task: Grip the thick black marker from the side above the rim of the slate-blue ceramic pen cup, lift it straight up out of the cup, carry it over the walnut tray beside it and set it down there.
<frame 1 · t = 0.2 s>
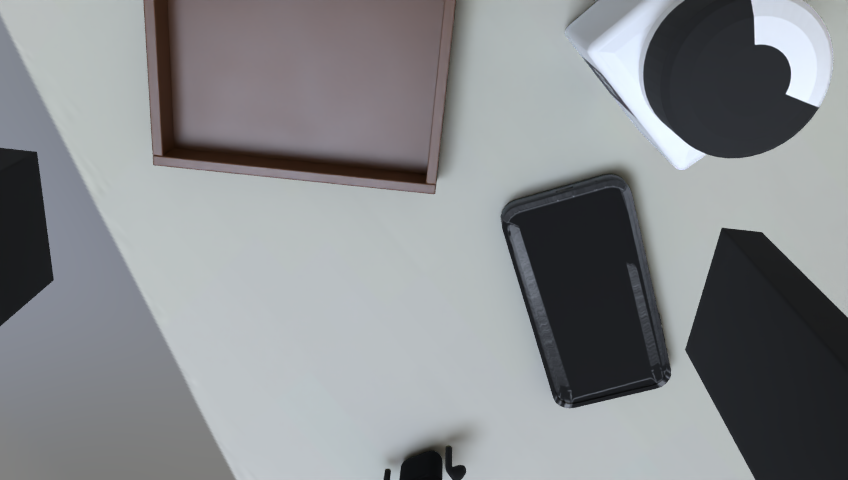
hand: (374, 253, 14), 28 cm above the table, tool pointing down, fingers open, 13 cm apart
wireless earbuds: (425, 461, 51), on the table
phone: (587, 292, 45), on the table
tray: (305, 65, 40), on the table
container: (659, 36, 39), on the table
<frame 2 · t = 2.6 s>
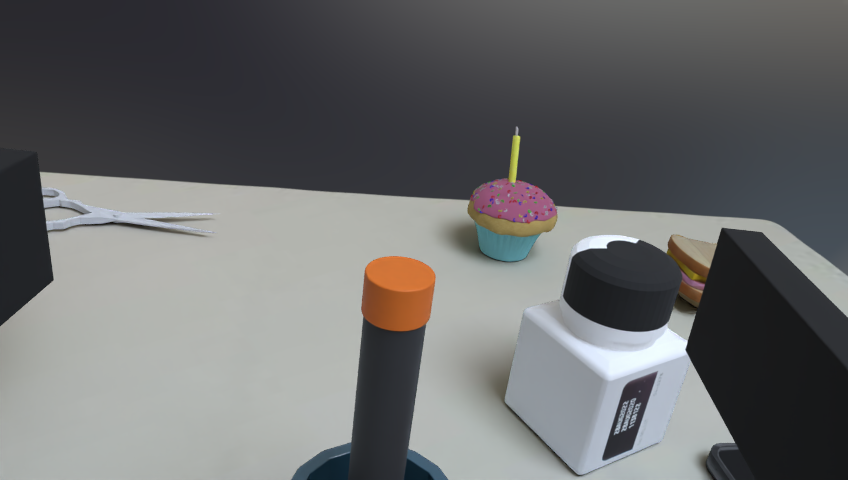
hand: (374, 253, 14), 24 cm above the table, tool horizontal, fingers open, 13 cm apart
cupcake: (504, 252, 69), on the table
toy sandwich meal: (724, 297, 66), on the table
scissors: (109, 223, 64), on the table
container: (580, 424, 47), on the table
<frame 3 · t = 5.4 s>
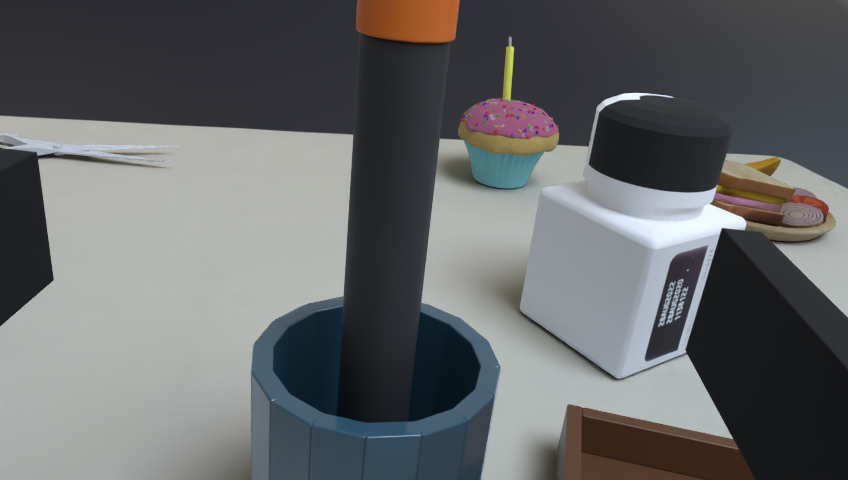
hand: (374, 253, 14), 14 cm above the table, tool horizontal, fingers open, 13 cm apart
cupcake: (500, 182, 62), on the table
toy sandwich meal: (746, 219, 59), on the table
scissors: (48, 156, 56), on the table
container: (610, 331, 40), on the table
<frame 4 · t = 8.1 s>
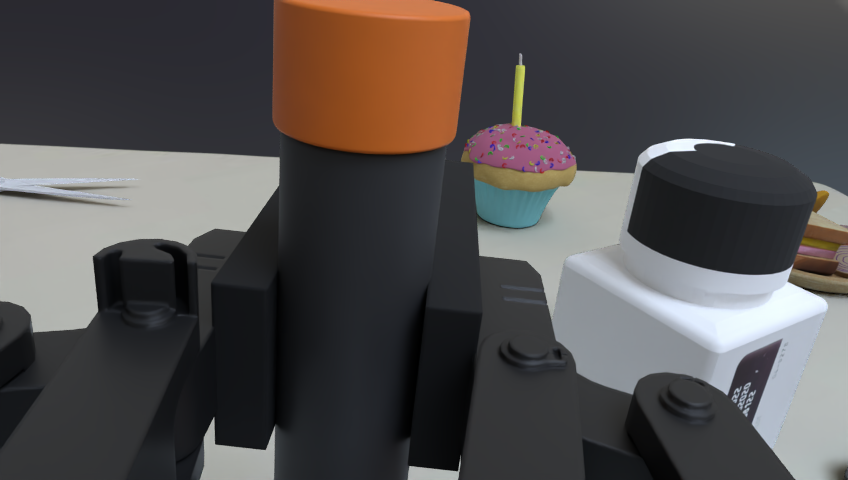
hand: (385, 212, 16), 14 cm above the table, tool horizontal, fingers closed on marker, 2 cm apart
cupcake: (508, 218, 54), on the table
toy sandwich meal: (791, 263, 52), on the table
container: (649, 429, 32), on the table
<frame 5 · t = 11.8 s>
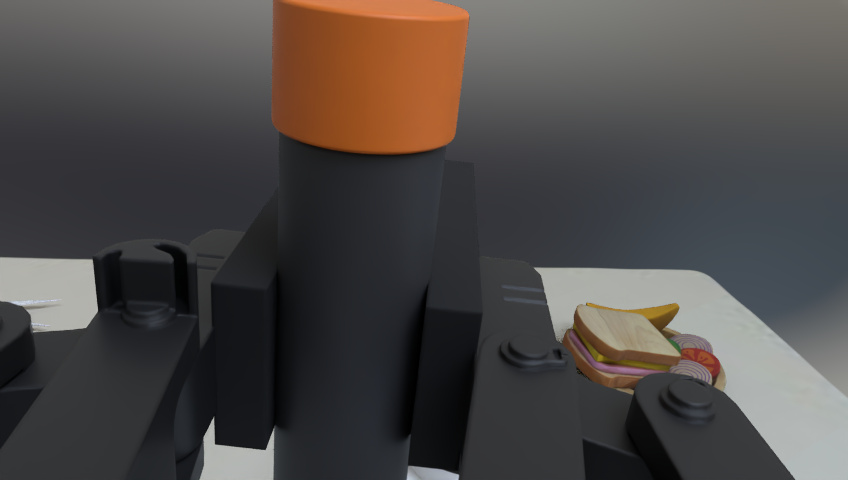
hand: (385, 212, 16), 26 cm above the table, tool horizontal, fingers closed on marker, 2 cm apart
toy sandwich meal: (639, 374, 58), on the table
when the fingers open (14 cm above the table, at t = 15.8 s): marker stays where it is, resting on tray.
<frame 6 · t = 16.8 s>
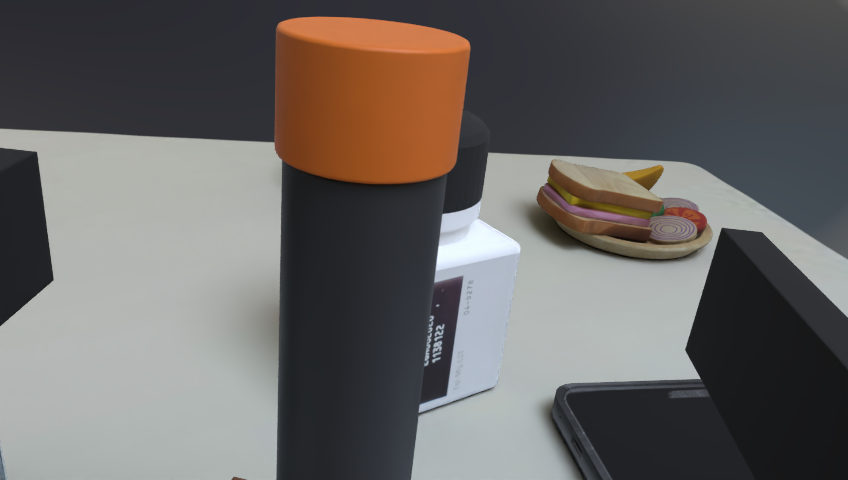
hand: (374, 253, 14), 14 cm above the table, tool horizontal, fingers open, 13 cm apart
phone: (731, 455, 31), on the table
toy sandwich meal: (619, 233, 54), on the table
container: (389, 370, 34), on the table
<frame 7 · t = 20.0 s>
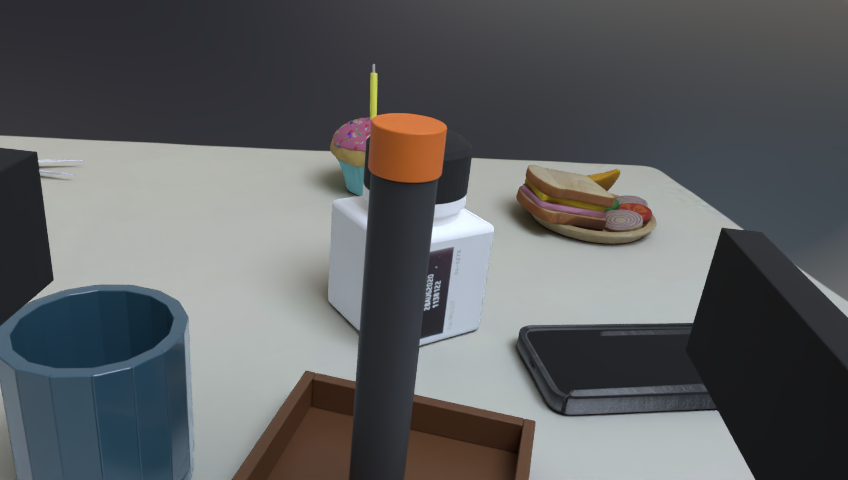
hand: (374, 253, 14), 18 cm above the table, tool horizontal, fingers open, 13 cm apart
cupcake: (371, 191, 70), on the table
phone: (642, 373, 44), on the table
toy sandwich meal: (583, 224, 67), on the table
pen cup: (111, 475, 32), on the table
container: (402, 318, 48), on the table
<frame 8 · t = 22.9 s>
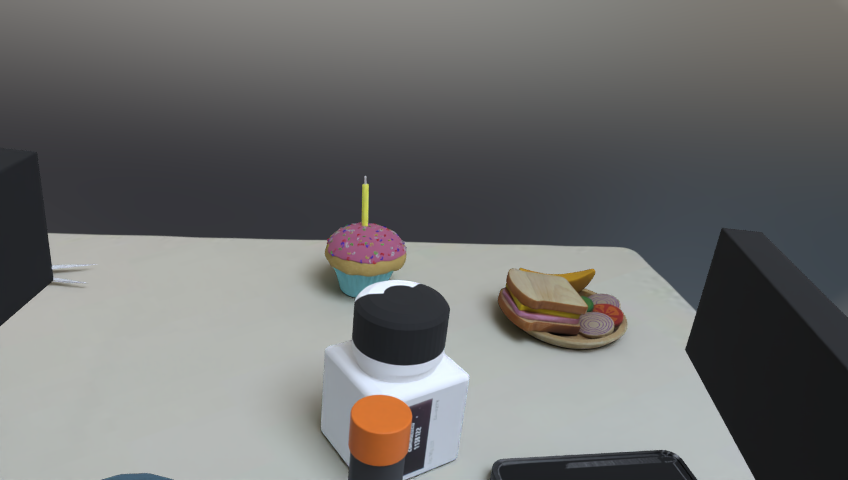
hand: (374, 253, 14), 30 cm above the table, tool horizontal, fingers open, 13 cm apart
cupcake: (363, 290, 75), on the table
toy sandwich meal: (559, 324, 73), on the table
container: (387, 447, 53), on the table
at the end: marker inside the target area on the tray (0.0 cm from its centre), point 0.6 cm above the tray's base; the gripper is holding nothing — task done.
